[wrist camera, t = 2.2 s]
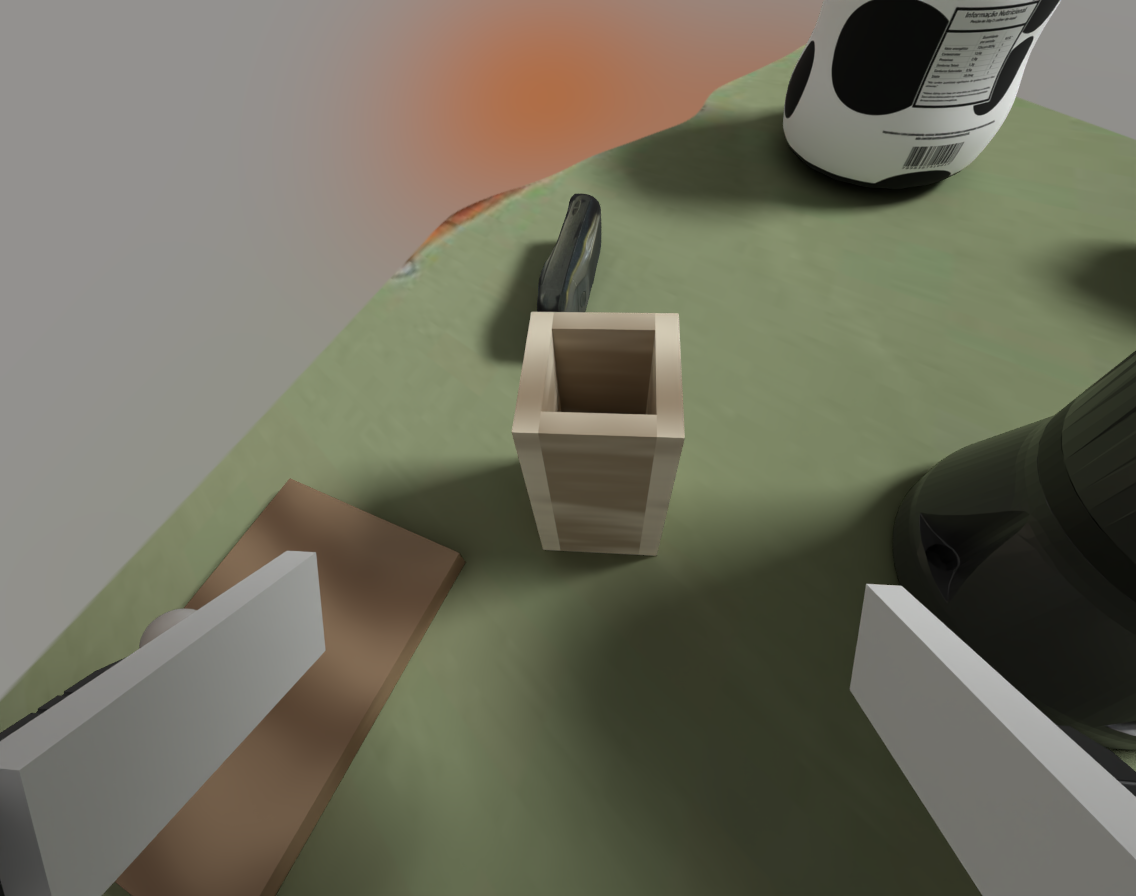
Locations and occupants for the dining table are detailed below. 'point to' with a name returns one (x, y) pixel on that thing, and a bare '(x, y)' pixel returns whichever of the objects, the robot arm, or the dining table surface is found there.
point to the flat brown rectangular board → (300, 695)
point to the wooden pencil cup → (600, 428)
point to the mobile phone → (572, 259)
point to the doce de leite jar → (907, 86)
